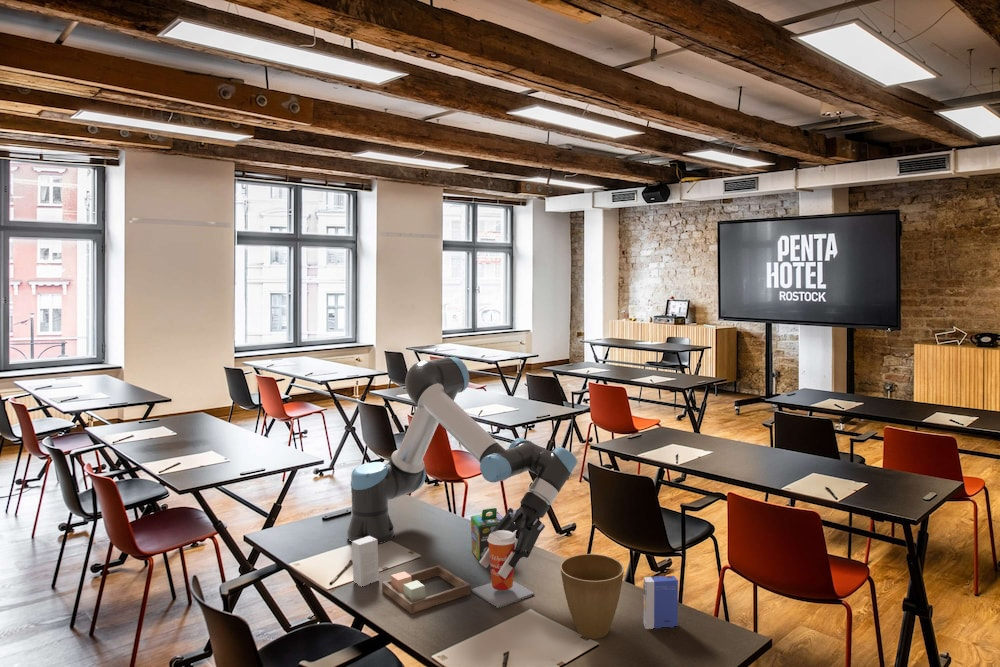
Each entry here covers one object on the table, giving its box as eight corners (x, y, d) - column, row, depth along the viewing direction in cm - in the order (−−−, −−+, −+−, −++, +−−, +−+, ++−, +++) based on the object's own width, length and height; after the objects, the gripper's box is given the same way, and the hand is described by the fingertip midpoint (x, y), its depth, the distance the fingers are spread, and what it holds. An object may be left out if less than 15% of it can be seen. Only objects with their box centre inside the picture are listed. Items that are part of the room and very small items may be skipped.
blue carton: (673, 621, 169) (674, 573, 168) (677, 627, 166) (678, 578, 165) (642, 623, 168) (642, 575, 167) (645, 629, 165) (645, 580, 164)
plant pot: (561, 614, 173) (560, 552, 172) (621, 617, 171) (621, 554, 170) (560, 646, 158) (559, 579, 157) (626, 649, 157) (626, 581, 155)
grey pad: (471, 591, 186) (471, 589, 186) (507, 579, 194) (507, 577, 193) (497, 608, 177) (497, 606, 177) (534, 595, 184) (534, 592, 184)
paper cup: (482, 586, 185) (481, 535, 184) (501, 576, 190) (500, 527, 189) (503, 595, 180) (502, 542, 178) (523, 585, 185) (522, 534, 184)
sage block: (404, 602, 181) (403, 584, 180) (417, 598, 183) (417, 580, 183) (411, 608, 177) (411, 589, 177) (425, 604, 180) (424, 585, 179)
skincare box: (370, 576, 197) (369, 535, 196) (379, 580, 194) (378, 539, 193) (352, 582, 193) (351, 541, 192) (360, 587, 190) (359, 545, 189)
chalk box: (499, 547, 217) (498, 501, 215) (508, 558, 208) (508, 510, 207) (470, 551, 214) (469, 504, 212) (479, 563, 205) (478, 514, 204)
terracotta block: (391, 593, 186) (391, 575, 186) (404, 589, 189) (404, 571, 188) (398, 598, 183) (398, 580, 183) (411, 594, 185) (411, 576, 185)
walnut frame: (382, 591, 187) (381, 582, 187) (439, 573, 198) (439, 565, 198) (411, 613, 174) (410, 604, 174) (470, 593, 185) (470, 584, 185)
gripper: (571, 516, 184) (524, 591, 176) (523, 496, 201) (478, 564, 193) (555, 500, 181) (507, 577, 173) (508, 482, 197) (461, 551, 189)
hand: (492, 570), depth 183 cm, fingers closed on paper cup, 8 cm apart
